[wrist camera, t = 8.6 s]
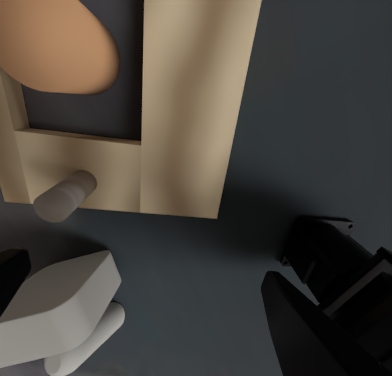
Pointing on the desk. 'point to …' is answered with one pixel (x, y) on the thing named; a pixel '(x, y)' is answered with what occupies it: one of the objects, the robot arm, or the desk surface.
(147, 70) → the pale wood u-shaped block
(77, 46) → the tan rounded cone
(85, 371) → the desk surface
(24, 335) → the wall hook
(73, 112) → the desk surface
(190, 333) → the desk surface
